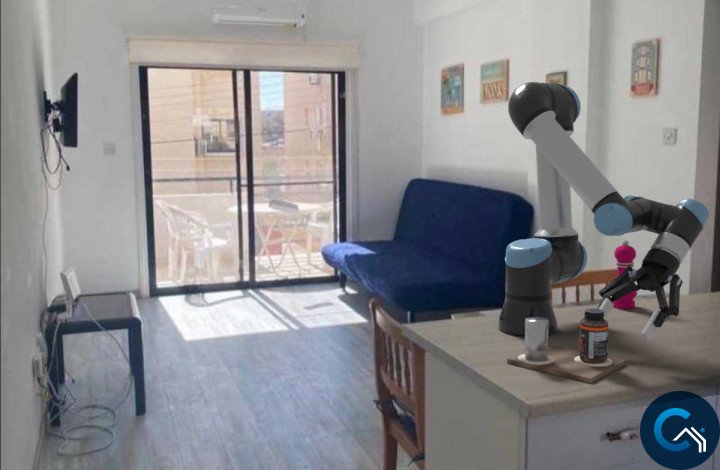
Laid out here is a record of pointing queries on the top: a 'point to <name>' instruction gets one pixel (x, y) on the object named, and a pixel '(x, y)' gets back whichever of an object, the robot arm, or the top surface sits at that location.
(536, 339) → the pin
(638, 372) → the top surface
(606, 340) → the supplement bottle
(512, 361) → the board
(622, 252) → the pepper mill
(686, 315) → the top surface
